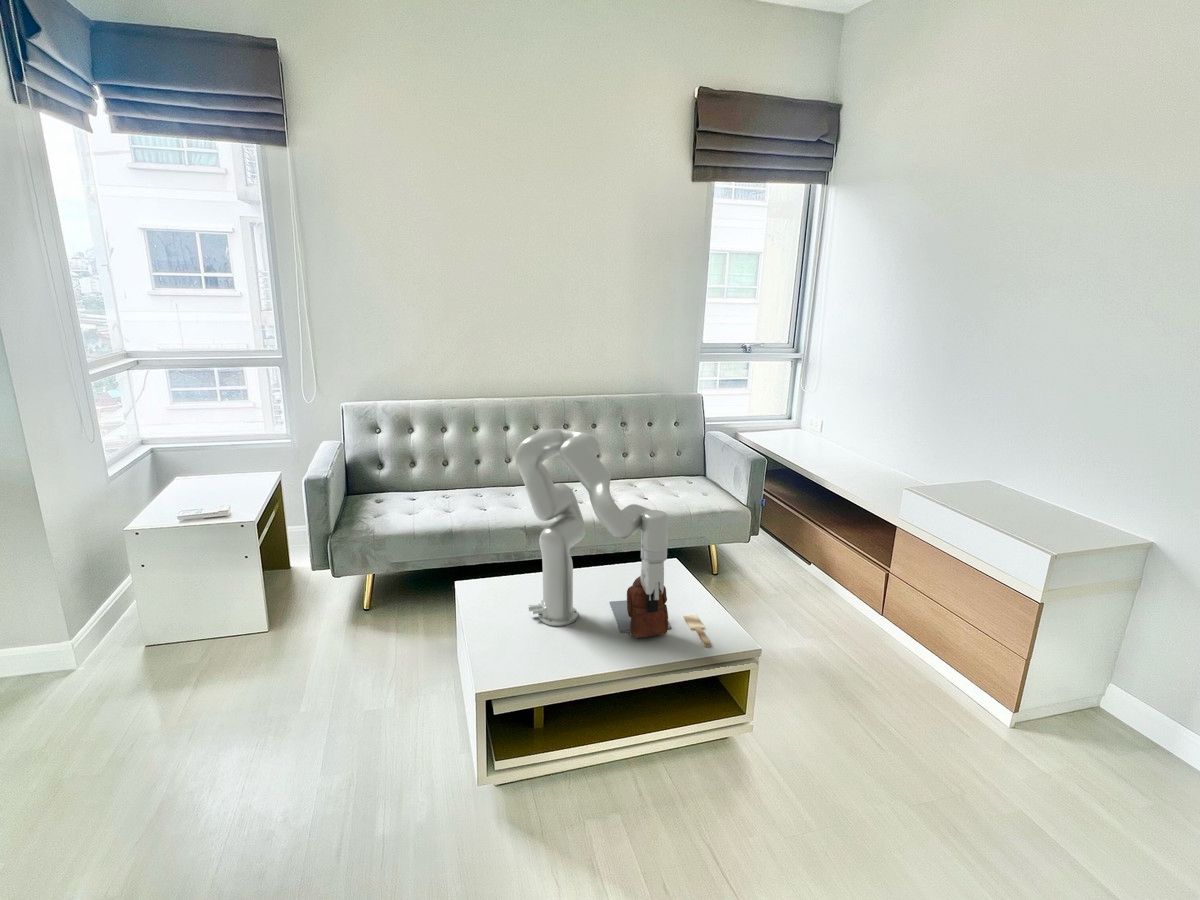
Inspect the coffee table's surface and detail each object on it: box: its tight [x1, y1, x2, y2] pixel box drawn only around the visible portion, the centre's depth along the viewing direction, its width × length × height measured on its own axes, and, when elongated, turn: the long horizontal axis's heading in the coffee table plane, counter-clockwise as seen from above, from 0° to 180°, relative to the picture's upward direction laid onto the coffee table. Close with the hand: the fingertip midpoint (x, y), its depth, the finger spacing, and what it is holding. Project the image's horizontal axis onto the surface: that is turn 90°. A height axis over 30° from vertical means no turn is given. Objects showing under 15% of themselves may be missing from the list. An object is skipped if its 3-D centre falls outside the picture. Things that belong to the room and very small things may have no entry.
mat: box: [609, 599, 672, 633], centre depth 200 cm, size 16×19×1 cm
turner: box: [682, 614, 712, 648], centre depth 191 cm, size 18×4×1 cm, turn 9°
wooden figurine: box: [626, 575, 669, 638], centre depth 187 cm, size 12×6×18 cm, turn 110°
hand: (651, 610), depth 182 cm, fingers closed
